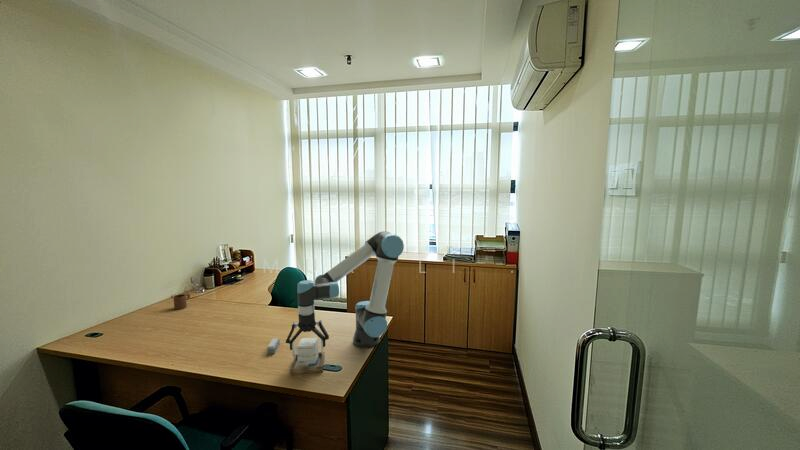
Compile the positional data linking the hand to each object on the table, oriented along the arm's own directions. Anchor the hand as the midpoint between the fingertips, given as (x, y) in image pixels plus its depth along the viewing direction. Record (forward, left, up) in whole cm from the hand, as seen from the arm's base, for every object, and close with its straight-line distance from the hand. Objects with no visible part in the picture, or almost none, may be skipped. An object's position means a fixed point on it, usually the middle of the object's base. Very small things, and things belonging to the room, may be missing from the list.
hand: (308, 354), depth 154 cm
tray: (0, 0, -6) cm, 6 cm away
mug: (+101, -100, -6) cm, 142 cm away
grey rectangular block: (+21, -20, -6) cm, 30 cm away
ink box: (0, 0, -5) cm, 5 cm away
